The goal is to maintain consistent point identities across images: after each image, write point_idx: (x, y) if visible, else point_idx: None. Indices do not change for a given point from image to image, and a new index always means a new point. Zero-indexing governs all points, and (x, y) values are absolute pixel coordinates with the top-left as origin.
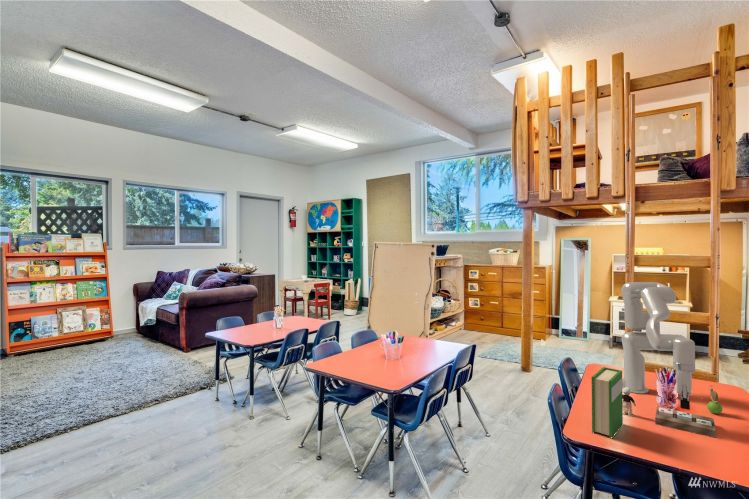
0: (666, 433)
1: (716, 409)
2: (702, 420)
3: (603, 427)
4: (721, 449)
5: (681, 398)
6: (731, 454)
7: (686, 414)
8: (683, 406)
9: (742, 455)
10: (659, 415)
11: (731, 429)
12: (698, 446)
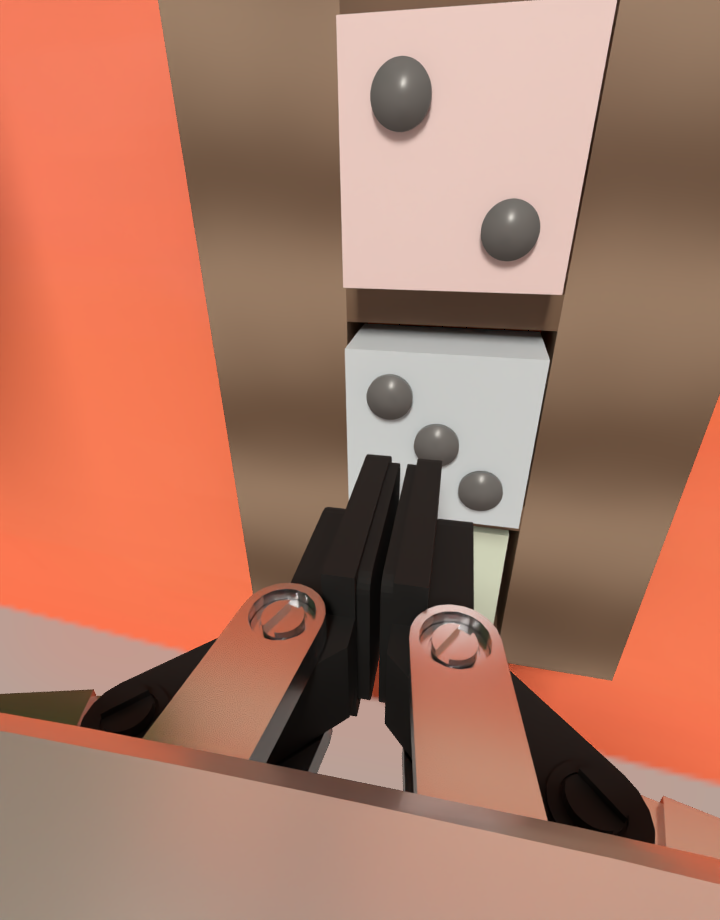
0: (38, 192)
1: None
2: (476, 580)
3: None
4: (101, 560)
5: (236, 621)
6: (76, 590)
7: (454, 469)
8: (322, 517)
9: (115, 634)
10: (304, 57)
11: (556, 699)
12: (14, 440)
